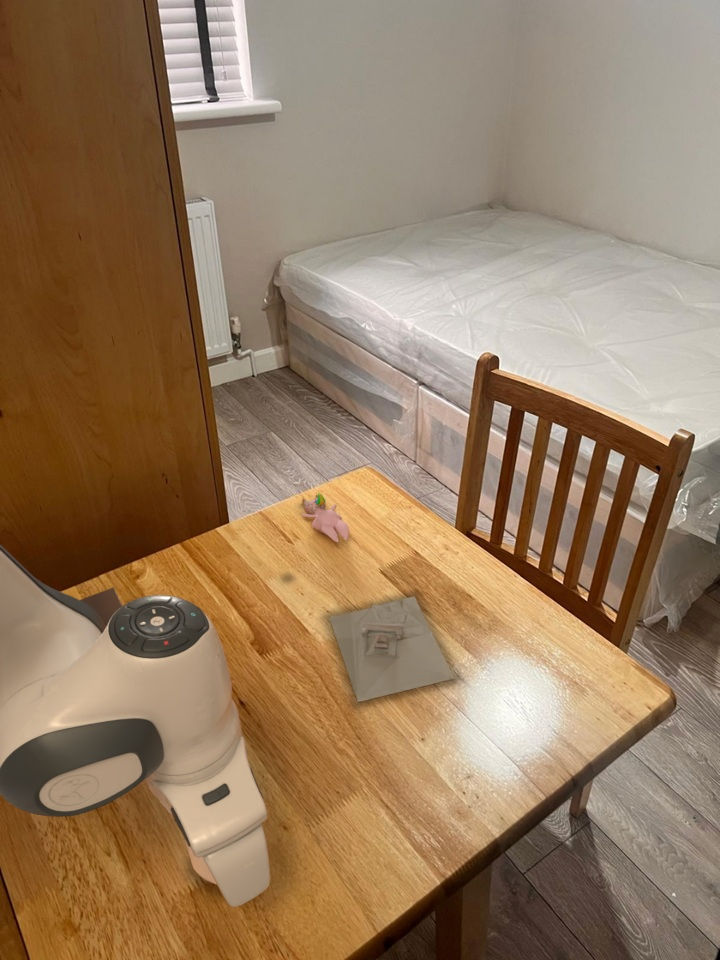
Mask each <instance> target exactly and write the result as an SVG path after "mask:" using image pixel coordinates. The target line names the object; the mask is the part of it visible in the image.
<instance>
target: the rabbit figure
mask: <svg viewBox="0 0 720 960" xmlns="http://www.w3.org/2000/svg"><path fill="white" fill-rule="evenodd" d="M300 504H301V506H303V509H304V511H305V512H306V513H302V512H301V515H300V516H301V517H302V518H303V517H304V518H310V519H314V520H313V521H312V523H311V527H312V528H313V529H315V530H316V531H318V532H320V533H322V534H325V535H326V536H327V537H329V538H330V539H331V540H332V541H334V542H335V543H340V539H339V535H340V536H341V537H342V538H343V539H344V540H345V541H348V539H349V535H350V528H349V525H348V523H347V522H345V521H344V520H343V517H342V516H341V515H340V514H338V513H337V512H336V511H334V510H335V509H336V508H337V504H333V505H332V507H331V508H330V509H326V499H325V497H324V495H323V494H321V493H320V492H318V493H317V492H315V498H314V499H312V500H307V499H306V498H304V496H303V495H302V500H301V503H300ZM337 533H338V534H339V535H338V534H337Z"/></svg>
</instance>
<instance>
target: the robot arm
mask: <svg viewBox="0 0 720 960" xmlns="http://www.w3.org/2000/svg"><path fill="white" fill-rule="evenodd" d="M80 600H81V599H78V598H76V597H74V596H71V595H69V594H66V593H64V592H61V591H59V590H57V589H55V588H53V587H50V586H49V585H46V584H45V583H43V582H42V581H40V580H39V579H38V578H36V577H35V575H33V574H32V573H30V572H29V570H27V569H26V568H25V567H24V566H23V565H22V564H21V562H20V561H18V559H16V558H15V557H14V556H13V555H12V554H11V553H10V552H9V551H8V550H7V549H6V548H5V547H4V546H3V545H1V544H0V796H1V797H2V798H3V799H4V800H5V801H6V802H7V803H9V804H10V805H12V806H13V807H15V808H17V809H19V810H21V811H23V812H25V813H30V814H32V815H38V816H43V817H53V818H54V817H55V818H59V817H60V818H62V817H73V816H79V815H83V814H86V813H89V812H92V811H95V810H98V809H100V808H102V807H104V806H107V805H108V804H110V803H112V802H114V801H116V800H117V799H119V798H122V796H124V795H126V794H127V793H129V792H130V791H131V790H133V789H134V788H136V787H137V786H139V785H140V784H141V783H142V782H144V781H145V783H146V786H147V787H148V789H149V791H150V792H151V793H152V795H153V796H154V797H155V798H156V799H158V801H159V802H160V804H161V805H162V806H163V808H164V809H165V810H166V811H167V812H168V813H169V814H170V815H171V817H172V818H173V819H174V822H175V823H176V825H177V827H178V828H179V830H180V832H181V834H182V836H183V839H184V838H185V839H184V841H185V840H186V842H187V844H188V846H189V847H190V848H191V850H192V852H193V854H194V856H195V857H197V858H200V857H202V858H203V860H204V861H205V863H206V865H207V867H208V869H209V871H210V873H211V874H212V876H213V878H214V880H215V882H216V884H215V885H216V886H217V887H218V889H219V891H220V893H221V895H222V897H223V898H224V900H225V901H226V903H227V904H228V906H230V907H231V908H237V907H240V906H242V905H244V904H246V903H248V902H250V901H252V900H253V899H255V898H257V897H258V896H259V895H260V894H262V893H263V892H265V891H266V890H267V889H268V887H269V886H270V883H271V866H270V858H269V849H268V843H267V839H266V833H265V830H264V827H263V823H264V822H266V821H267V819H268V809H267V806H266V803H265V800H264V798H263V794H262V792H261V790H260V787H259V784H258V783H257V780H256V777H255V774H254V772H253V769H252V767H251V765H250V760H249V759H250V758H249V753H248V752H249V751H248V747H247V743H246V740H245V737H244V734H243V733H244V732H243V729H242V728H243V727H242V724H241V719H240V715H239V711H238V707H237V704H236V703H235V701H234V699H233V697H232V695H233V681H232V676H231V672H230V667H229V663H228V659H227V657H226V653H225V649H224V646H223V643H222V640H221V638H220V635H219V633H218V631H217V629H216V627H215V625H214V623H213V622H212V620H211V618H209V616H208V615H207V614H206V613H205V612H204V611H203V609H201V608H200V607H199V606H198V605H196V604H195V603H193V602H191V601H189V600H187V599H184V598H182V597H178V596H174V595H168V594H152V595H145V596H141V597H137V598H135V599H133V600H131V601H129V602H126V603H125V604H122V607H121V608H119V609H118V610H117V611H116V612H115V613H114V614H113V616H112V617H111V619H110V620H109V622H108V624H107V626H105V624H104V621H103V620H102V618H101V616H100V615H99V614H98V613H97V612H96V611H95V610H94V609H93V608H92V607H90V606H89V605H88V604H86V603H84V602H82V601H80ZM186 842H185V843H186Z"/></svg>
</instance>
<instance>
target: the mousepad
mask: <svg viewBox="0 0 720 960" xmlns="http://www.w3.org/2000/svg"><path fill="white" fill-rule="evenodd" d="M328 618H329V621H330V624H331V627H332V630H333V633H334V636H335V640H336V642H337V645H338V649H339V651H340V654H341V658H342V660H343V663H344V666H345V669H346V672H347V675H348V678H349V681H350V684H351V687H352V689H353V693H354V696H355V698H356V701H357V703H360V702H365V701H368V700H369V701H370V700H374V699H378V698H380V697H385V696H389V695H394V694H397V693H402V692H406V691H410V690H414V689H418V688H423V687H426V686H430V685H434V684H437V683H442V682H446V681H450V680H454V679H455V677H454V674H453V672H452V671H451V668H450V667H449V664H448V662H447V660H446V658H445V656H444V654H443V652H442V650H441V648H440V646H439V644H438V641H437V640H436V638H435V635H434V633H433V631H432V629H431V628H430V625H429V623H428V621H427V618H426V617H425V615H424V613H423V611H422V609H421V607H420V605H419V603H418V600H417V598H416V597H415V595H413V596H409V597H404V598H399V599H395V600H390V601H385V602H381V603H377V604H372V605H370V607H367V608H363V609H359V610H354V611H350V612H349V611H348V612H345V613H341V614H336V615H331V616H328Z"/></svg>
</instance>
